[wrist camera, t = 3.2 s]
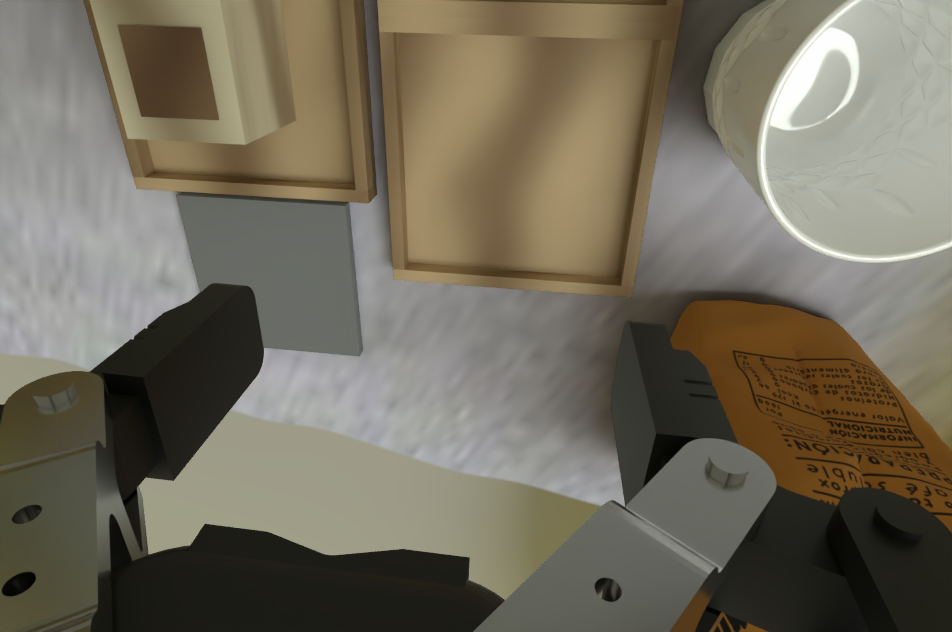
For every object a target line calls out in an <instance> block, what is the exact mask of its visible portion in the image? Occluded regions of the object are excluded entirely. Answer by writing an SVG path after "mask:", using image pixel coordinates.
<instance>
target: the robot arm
mask: <svg viewBox="0 0 952 632" xmlns="http://www.w3.org/2000/svg"><path fill="white" fill-rule="evenodd" d="M263 357H264V347H263V341H262V335H261V329H260V323H259V317H258V311H257V305H256V299H255V295H254V292H253V290H252V289H251V288H250V287H249V286H244V285H233V284H222V283H212V284H210V285H209V286H208V287H206V288H205V289H204V290H203V291H201V292H200V293H199V294H198V295H197V296H195V297H194V298H193V299H192V300H190V301H189V302H187V303H185V304H183V305H180V306H178V307H176V308H174V309H172V310H169V311H167V312H165V313H163V314H162V315H161V316H159V317H158V318H157V319H156V320H154V321H153V322H152V323H151V324H149V325H148V328H147V329H145V328H144V329H143V330H142V331H141V332H139V333H138V334H137V335H136V336H134V340H132V339H130V340H129V341H128V342H127V343H125V344H124V345H123V346H122V347H120V348H119V349H118V350H117V351H115V352H114V353H113V354H112V355H110V356H109V357H108V358H107V359H105V360H104V361H103V362H102V363H100V364H99V365H98V366H96V367H95V368H94V369H93V370H91V371H90V372H84V371H72V372H63V373H58V374H54V375H50V376H47V377H44V378H41V379H38V380H36V381H33V382H31V383H29V384H27V385H25V386H24V387H22V388H20V389H19V390H18V391H16V392H15V393H13V395H11V397H9V398H8V400H7V401H6V403H5V404H4V405H0V632H714V630H715V629H716V627H717V626H718V624H719V622H720V621H721V619H722V618H723V616H724V614H728V615H730V616H732V617H735V618H737V619H739V620H742V621H744V622H747V623H749V624H751V625H754V626H756V627H758V628H761V629H763V630H766V631H768V632H952V533H951V532H950V530H949V529H948V528H947V527H946V526H945V525H944V524H943V523H942V522H941V521H940V520H939V519H938V518H937V517H936V516H935V515H933V514H932V513H931V512H929V511H928V510H927V509H925V508H924V507H922V506H920V505H919V504H917V503H915V502H914V501H912V500H909V499H907V498H905V497H903V496H901V495H898V494H896V493H893V492H890V491H886V490H882V489H877V488H869V487H859V488H854V489H851V490H848V491H846V492H845V493H844V494H843V495H842V497H841V498H840V500H839V502H838V505H837V506H834V505H831V504H828V503H825V502H822V501H819V500H816V499H813V498H810V497H807V496H804V495H801V494H798V493H795V492H792V491H790V490H787V489H785V488H783V487H781V486H779V485H777V483H776V478H775V476H774V473H773V471H772V470H771V468H770V467H769V466H768V465H767V463H766V462H765V461H764V460H763V459H761V458H760V457H759V456H758V455H756V454H755V453H754V452H752V451H750V450H749V449H747V448H745V447H743V446H741V445H739V444H738V441H737V439H736V437H735V434H734V432H733V430H732V427H731V425H730V422H729V420H728V418H727V415H726V413H725V411H724V408H723V406H722V404H721V401H720V400H718V394H717V392H716V390H715V387H714V386H712V380H711V378H710V375H709V373H708V371H707V368H706V366H705V365H704V364H703V363H702V362H701V361H700V360H699V359H697V358H696V357H695V356H694V355H693V354H692V353H691V352H690V351H689V350H678V349H673V347H672V344H671V342H670V339H669V336H668V333H667V330H666V327H665V325H663V324H654V323H643V322H632V321H627V322H626V323H625V326H624V329H623V334H622V339H621V344H620V349H619V355H618V360H617V365H616V370H615V376H614V381H613V387H612V398H611V411H612V419H613V426H614V432H615V439H616V446H617V453H618V460H619V467H620V473H621V480H622V487H623V494H624V501H625V507H623V506H622V505H620V504H619V503H617V502H616V501H613V500H612V501H608V502H606V503H605V504H604V505H602V506H601V507H600V508H599V509H598V510H597V511H596V512H595V513H594V514H593V515H592V516H591V517H590V518H589V519H588V520H587V521H586V522H585V523H584V524H583V525H582V526H581V527H580V528H579V529H578V530H576V531H575V532H574V533H573V534H572V535H571V536H570V537H569V538H568V539H567V540H566V541H565V542H564V543H563V544H562V545H561V546H560V547H559V548H558V549H557V550H556V551H555V552H554V553H553V554H552V555H551V556H550V557H549V558H548V559H547V560H546V561H545V562H544V563H543V564H542V565H541V566H540V567H539V568H538V569H537V570H536V571H535V572H534V573H533V574H532V575H531V576H530V577H529V578H528V579H526V580H525V582H523V583H522V584H521V585H520V586H519V587H518V588H517V589H516V590H515V591H514V592H513V593H512V594H511V595H510V596H509V597H508V598H507V599H506V600H504V599H503V598H501V597H500V596H499V595H497V594H496V593H494V592H492V591H491V590H489V589H487V588H485V587H483V586H481V585H479V584H477V583H474V582H472V581H470V580H468V578H469V558H468V557H460V556H452V555H444V554H436V553H429V552H421V551H413V550H405V549H399V550H389V551H378V552H368V553H356V554H346V555H332V556H331V555H325V554H321V553H319V552H316V551H314V550H312V549H309V548H307V547H304V546H302V545H299V544H296V543H294V542H292V541H289V540H287V539H284V538H282V537H279V536H277V535H274V534H272V533H269V532H264V531H257V530H249V529H241V528H233V527H225V526H217V525H209V524H205V525H204V526H203V527H202V529H201V530H200V532H199V534H198V535H197V536H196V538H195V539H194V541H193V543H192V544H191V545H190V546H183V547H178V548H172V549H167V550H164V551H160V552H157V553H153V554H150V555H149V554H148V545H147V536H146V526H145V516H144V507H143V498H142V494H141V492H140V489H139V485H140V483H141V482H142V481H143V480H144V479H145V478H146V477H147V478H155V479H164V480H172V481H174V480H175V478H176V477H177V476H178V475H179V473H180V472H181V470H182V469H183V468H184V467H185V466H186V464H187V463H188V462H189V461H190V459H191V458H192V457H193V455H194V454H195V453H196V452H197V450H198V449H199V448H200V447H201V446H202V444H203V443H204V442H205V441H206V439H207V438H208V437H209V436H210V434H211V433H212V432H213V430H214V429H215V428H216V427H217V425H218V424H219V423H220V421H221V420H222V419H223V418H224V417H225V415H226V414H227V413H228V412H229V410H230V409H231V408H232V407H233V405H234V404H235V403H236V402H237V400H238V399H239V398H240V397H241V395H242V394H243V393H244V392H245V390H246V389H247V388H248V386H249V385H250V384H251V383H252V381H253V380H254V379H255V378H256V376H257V375H258V373H259V372H260V369H261V366H262V363H263Z"/></svg>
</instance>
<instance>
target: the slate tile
mask: <svg viewBox="0 0 952 632" xmlns="http://www.w3.org/2000/svg"><path fill="white" fill-rule="evenodd" d="M176 197H177V201H178V205H179V209H180V213H181V217H182V221H183V225H184V229H185V233H186V237H187V241H188V245H189V249H190V253H191V257H192V261H193V265H194V269H195V273H196V277H197V281H198V286H199V290H200V292H201V291H203V290H204V289H205V288H206V287H208V286H209V285H210V284H212V283H222V284H233V285H244V286H249V287H250V288H251V289H252V290H253V292H254V295H255V299H256V305H257V311H258V317H259V323H260V329H261V335H262V341H263V347H264V348H274V349H285V350H296V351H307V352H318V353H329V354H340V355H351V356H360V355H361V353H362V351H363V347H362V336H361V326H360V315H359V304H358V294H357V283H356V272H355V262H354V251H353V240H352V230H351V219H350V208H349V202H338V201H322V200H305V199H289V198H273V197H257V196H241V195H225V194H209V193H193V192H182V193H180V194H178V195H176Z"/></svg>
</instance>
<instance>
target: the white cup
mask: <svg viewBox="0 0 952 632" xmlns="http://www.w3.org/2000/svg"><path fill="white" fill-rule="evenodd" d="M703 90H704V97H705V104H706V111H707V118H708V123H709V124H710V126H711V127H712V128H713V130H714V131H715V132H716V134H717V135H718V136H719V138H720V141H721V143H722V146H723V148H724V150H725V151H726V153H727V154H728V155H729V157H730V159H731V160H732V162H733V164H734V165H735V167H736V168H737V169H738V170H739V171H740V173H741V174H742V175H743V176H744V178H745V179H746V181H747V182H748V183H749V185H750V186H751V187H752V189H753V190H754V191H755V192H756V194H757V195H758V196H759V198H760V199H761V200H762V201H763V203H764V204H765V205H766V207H767V208H768V209H769V211H770V212H771V213H772V215H773V216H774V217H775V219H776V220H777V221H778V223H779V224H780V225H781V226H782V227H783V228H784V229H785V230H786V231H787V232H788V233H789V234H790V235H791V236H792V237H794V238H795V239H796V240H798V241H799V242H801V243H802V244H804V245H805V246H807V247H809V248H811V249H813V250H815V251H817V252H820V253H822V254H825V255H828V256H831V257H834V258H838V259H842V260H848V261H854V262H867V263H881V262H894V261H901V260H907V259H912V258H917V257H921V256H925V255H928V254H932V253H935V252H938V251H941V250H943V249H946V248H949V247H951V246H952V0H765V1H763V2H762V3H760V4H758V5H756V6H755V7H753V8H751V9H750V10H748V11H746V12H744V13H743V14H742V15H741V16H740V18H739V19H738V20H737V21H736V23H735V24H734V25H733V26H732V28H731V29H730V30H729V31H728V33H727V34H726V35H725V36H724V38H723V39H722V40H721V41H720V43H719V44H718V45H717V46H716V48H715V50H714V53H713V56H712V60H711V63H710V66H709V69H708V73H707V76H706V79H705V83H704V86H703Z"/></svg>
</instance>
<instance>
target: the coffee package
mask: <svg viewBox="0 0 952 632" xmlns="http://www.w3.org/2000/svg"><path fill="white" fill-rule="evenodd" d="M670 342H671V344H672V347H673V349H678V350H689V351H690V352H691V353H692V354H693V355H694V356H695V357H696V358H697V359H699V360H700V361H701V362H702V363H703V364H704V365H705V366H706V368H707V371H708V373H709V375H710V378H711V380H712V386H714V387H715V390H716V392H717V394H718V400H720V401H721V404H722V406H723V408H724V411H725V413H726V415H727V418H728V420H729V422H730V425H731V427H732V430H733V432H734V434H735V437H736V439H737V441H738V444H739V445H741V446H743V447H745V448H747V449H749V450H750V451H752V452H754V453H755V454H756V455H758V456H759V457H760V458H761V459H763V460H764V461H765V462H766V463H767V465H768V466H769V467H770V468H771V470H772V471H773V473H774V476H775V478H776V483H777V485H779V486H781V487H783V488H785V489H787V490H790V491H792V492H795V493H798V494H801V495H804V496H807V497H810V498H813V499H816V500H819V501H822V502H825V503H828V504H831V505H834V506H837V505H838V502H839V500H840V498H841V497H842V495H843V494H844V493H845V492H846V491H848V490H851V489H854V488H859V487H869V488H877V489H882V490H886V491H890V492H893V493H896V494H898V495H901V496H903V497H905V498H907V499H909V500H912V501H914V502H915V503H917V504H919V505H920V506H922V507H924V508H925V509H927V510H928V511H929V512H931V513H932V514H933V515H935V516H936V517H937V518H938V519H939V520H940V521H941V522H942V523H943V524H944V525H945V526H946V527H947V528H948V529H949V530H950V532H951V533H952V451H951V449H950V448H949V447H948V446H947V445H946V444H945V443H944V442H943V441H942V440H941V439H940V437H939V436H938V435H937V433H936V432H935V431H934V429H933V428H932V427H931V426H930V425H929V424H928V423H927V422H926V421H925V420H924V418H923V417H922V416H921V415H920V413H919V412H918V411H917V410H916V409H915V408H914V407H913V406H912V405H911V404H910V403H909V402H908V400H907V399H906V397H905V396H904V395H903V394H902V393H901V392H900V391H899V390H898V389H897V388H896V387H895V386H894V385H893V383H892V382H891V381H890V380H889V379H888V378H887V377H886V376H885V375H884V374H883V373H882V372H881V371H880V370H879V369H878V368H877V366H876V365H875V364H874V363H873V362H872V361H871V359H870V358H869V357H868V356H867V355H866V353H865V352H864V351H863V350H862V348H861V347H860V346H859V344H858V343H857V342H856V341H855V340H854V339H853V338H852V337H851V336H850V335H849V334H848V333H847V332H846V331H845V330H844V329H843V328H842V327H841V326H840V325H839V324H837V323H836V322H834V321H832V320H829V319H825V318H820V317H816V316H813V315H811V314H808V313H805V312H802V311H799V310H796V309H793V308H789V307H783V306H778V305H763V304H755V303H751V302H745V301H734V300H719V301H694V302H691V303H690V304H689V305H688V306H687V307H686V309H685V310H684V311H683V313H682V314H681V316H680V318H679V321H678V323H677V325H676V327H675V329H674V332H673V334H672V336H671V339H670ZM714 632H768V631H766V630H763V629H761V628H758V627H756V626H754V625H751V624H749V623H747V622H744V621H742V620H739V619H737V618H735V617H732V616H730V615H728V614H724V616H723V618H722V619H721V621H720V622H719V624H718V626H717V627H716V629H715V630H714Z"/></svg>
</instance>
